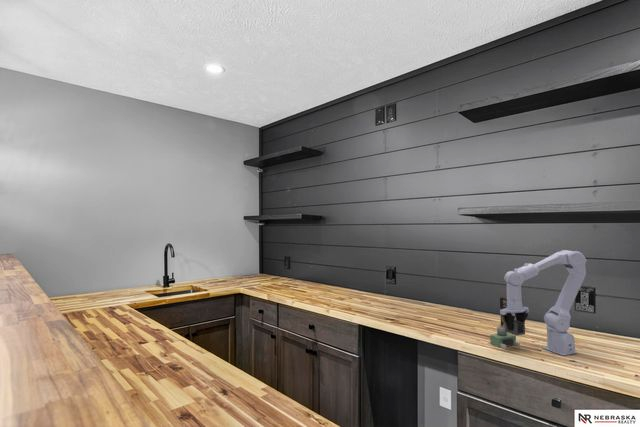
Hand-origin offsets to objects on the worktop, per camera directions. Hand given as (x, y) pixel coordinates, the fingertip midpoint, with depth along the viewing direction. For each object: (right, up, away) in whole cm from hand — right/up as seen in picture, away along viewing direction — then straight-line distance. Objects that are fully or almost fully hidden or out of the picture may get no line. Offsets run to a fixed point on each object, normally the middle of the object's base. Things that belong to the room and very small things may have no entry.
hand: (515, 329), depth 151 cm
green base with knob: (-2, -9, +5) cm, 10 cm away
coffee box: (+14, -10, +28) cm, 33 cm away
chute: (0, -2, 0) cm, 2 cm away
